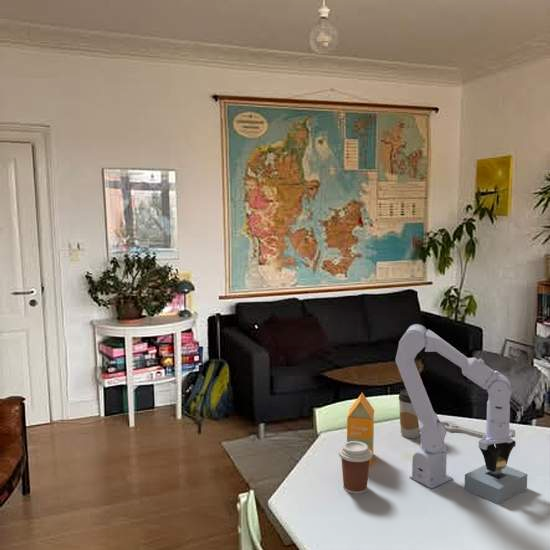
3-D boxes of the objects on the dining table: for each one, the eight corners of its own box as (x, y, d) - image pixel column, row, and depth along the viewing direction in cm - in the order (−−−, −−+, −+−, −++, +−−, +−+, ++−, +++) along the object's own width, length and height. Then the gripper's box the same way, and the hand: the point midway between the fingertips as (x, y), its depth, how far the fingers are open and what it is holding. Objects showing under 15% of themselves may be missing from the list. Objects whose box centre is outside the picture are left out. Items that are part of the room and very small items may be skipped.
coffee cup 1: (377, 485, 145) (377, 444, 144) (363, 499, 137) (363, 456, 136) (347, 476, 150) (347, 436, 149) (332, 490, 142) (332, 448, 141)
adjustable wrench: (514, 445, 172) (514, 440, 172) (505, 451, 167) (506, 445, 167) (444, 424, 190) (444, 419, 190) (435, 429, 186) (435, 424, 185)
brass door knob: (498, 484, 139) (498, 465, 139) (482, 477, 143) (483, 458, 143) (509, 479, 142) (509, 460, 141) (493, 472, 146) (493, 454, 145)
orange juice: (346, 463, 158) (346, 400, 156) (349, 451, 166) (349, 391, 165) (372, 466, 156) (373, 402, 154) (374, 454, 165) (374, 392, 163)
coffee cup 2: (425, 433, 181) (426, 391, 179) (418, 441, 174) (419, 398, 172) (402, 428, 185) (403, 387, 184) (394, 436, 178) (395, 394, 177)
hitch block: (498, 504, 135) (498, 489, 134) (464, 488, 143) (464, 474, 142) (526, 488, 143) (527, 474, 142) (493, 474, 151) (493, 460, 150)
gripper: (496, 430, 133) (494, 481, 135) (526, 418, 142) (524, 465, 143) (472, 422, 139) (470, 470, 140) (502, 410, 148) (500, 456, 149)
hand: (496, 467), depth 142 cm, fingers closed on brass door knob, 5 cm apart
